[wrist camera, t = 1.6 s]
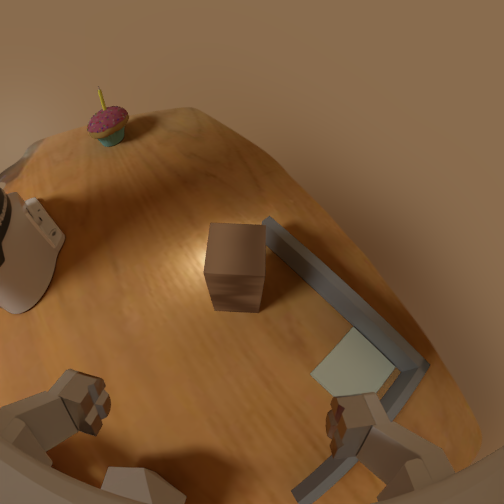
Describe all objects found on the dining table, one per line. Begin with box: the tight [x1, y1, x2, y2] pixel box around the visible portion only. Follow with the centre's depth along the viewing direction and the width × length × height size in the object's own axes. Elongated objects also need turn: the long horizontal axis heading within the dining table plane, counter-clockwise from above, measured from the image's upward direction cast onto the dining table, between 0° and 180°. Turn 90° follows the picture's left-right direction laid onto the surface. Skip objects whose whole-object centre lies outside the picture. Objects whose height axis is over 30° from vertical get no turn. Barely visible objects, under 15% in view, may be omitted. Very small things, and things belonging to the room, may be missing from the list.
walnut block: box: [204, 223, 266, 313], centre depth 28 cm, size 5×5×10 cm
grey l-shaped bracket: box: [262, 216, 430, 504], centre depth 27 cm, size 26×20×4 cm
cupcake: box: [87, 86, 129, 147], centre depth 42 cm, size 9×8×12 cm
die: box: [101, 467, 187, 504], centre depth 16 cm, size 8×9×10 cm
